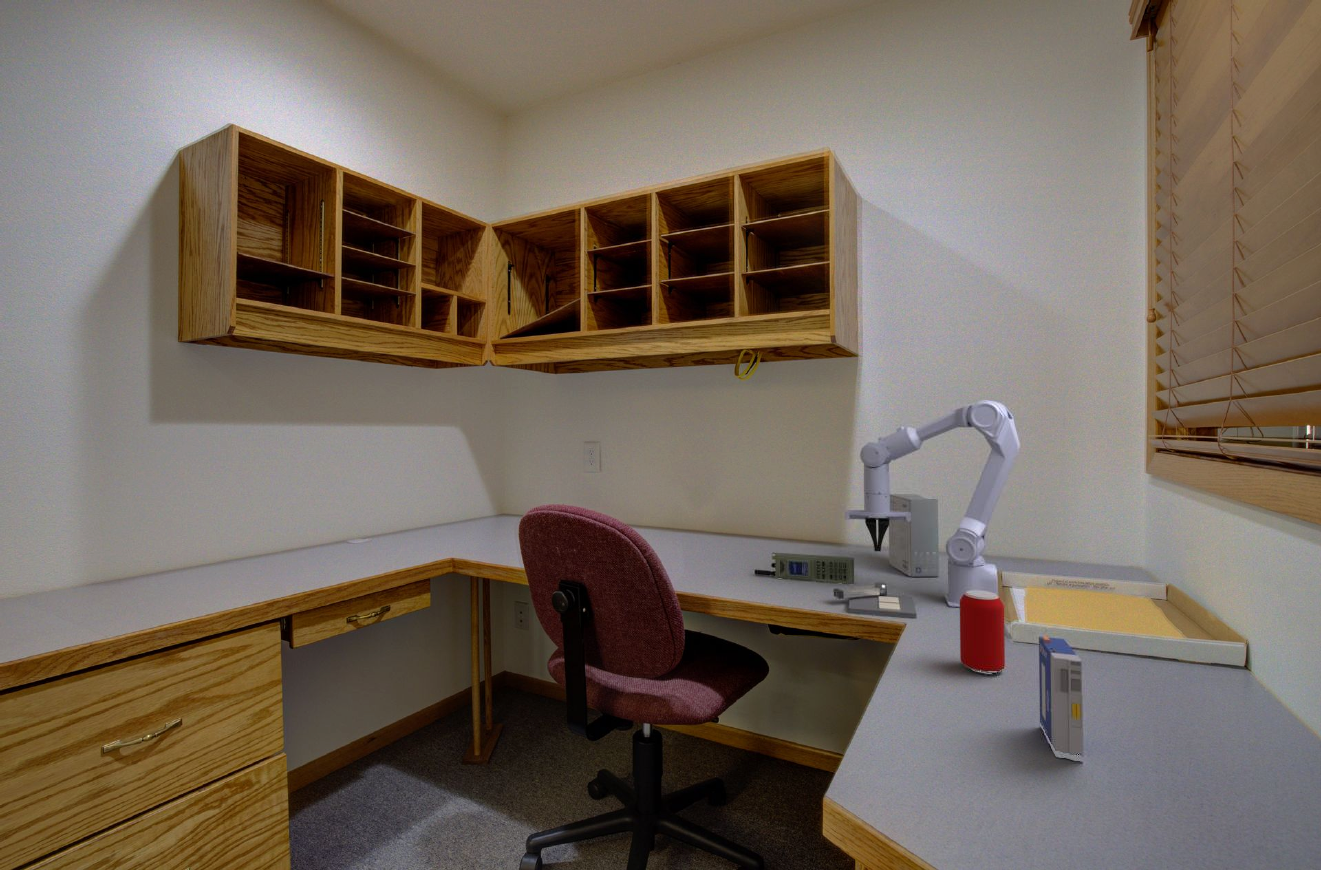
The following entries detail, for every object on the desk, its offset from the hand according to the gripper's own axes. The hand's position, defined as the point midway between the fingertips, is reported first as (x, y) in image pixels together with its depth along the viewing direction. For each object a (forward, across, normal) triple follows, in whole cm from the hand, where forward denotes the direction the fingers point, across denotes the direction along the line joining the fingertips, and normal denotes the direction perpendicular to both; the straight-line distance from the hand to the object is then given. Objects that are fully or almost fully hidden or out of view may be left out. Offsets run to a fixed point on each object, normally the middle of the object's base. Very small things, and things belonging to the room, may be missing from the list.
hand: (877, 550), depth 141 cm
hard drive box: (+10, -9, -23) cm, 26 cm away
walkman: (+10, -20, +66) cm, 70 cm away
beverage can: (+10, -15, +44) cm, 47 cm away
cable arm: (+8, +4, +11) cm, 14 cm away
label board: (+9, 0, +14) cm, 16 cm away
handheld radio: (+10, +18, -6) cm, 21 cm away
